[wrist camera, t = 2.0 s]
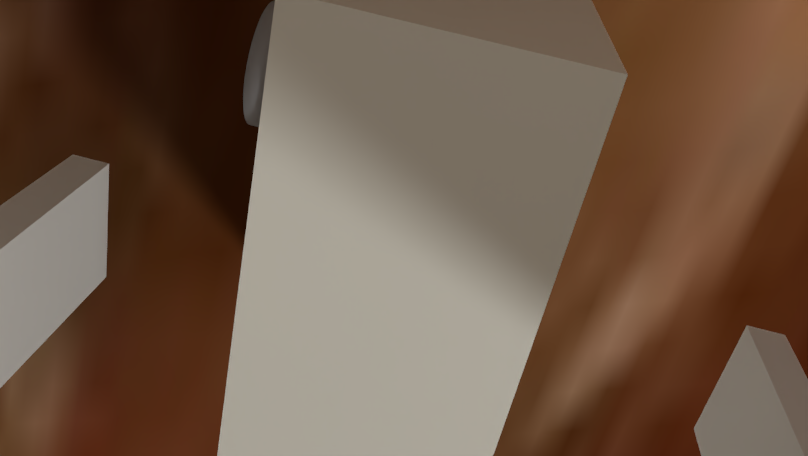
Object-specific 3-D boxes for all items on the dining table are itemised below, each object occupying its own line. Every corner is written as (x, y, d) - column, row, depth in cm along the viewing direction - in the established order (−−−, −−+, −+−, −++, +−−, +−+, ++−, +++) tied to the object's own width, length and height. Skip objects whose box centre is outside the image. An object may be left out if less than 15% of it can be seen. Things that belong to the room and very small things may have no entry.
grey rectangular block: (307, 327, 25) (180, 630, 16) (383, -89, 19) (252, -16, 10) (449, 362, 25) (409, 690, 16) (569, -45, 19) (627, 74, 10)
